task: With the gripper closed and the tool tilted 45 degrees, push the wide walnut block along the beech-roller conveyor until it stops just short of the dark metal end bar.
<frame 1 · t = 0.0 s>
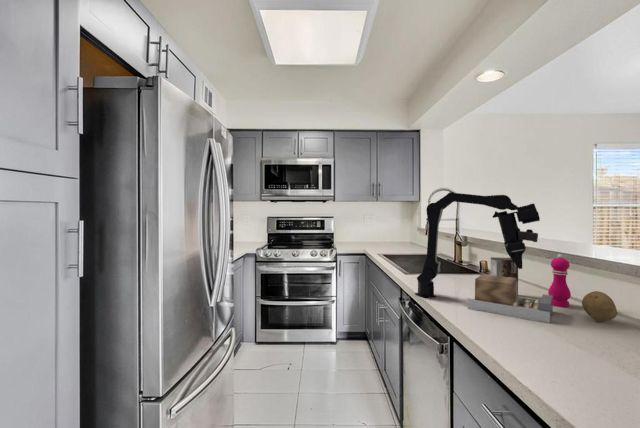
hand: (519, 266, 128), 15 cm above the worktop, tool pointing down, fingers open, 9 cm apart
potato: (597, 321, 113), on the worktop
slab: (495, 289, 127), point 7 cm above the worktop, slide at 0.0 cm
pepper mill: (559, 305, 132), on the worktop
coffee box: (503, 295, 145), on the worktop
track: (507, 309, 125), on the worktop
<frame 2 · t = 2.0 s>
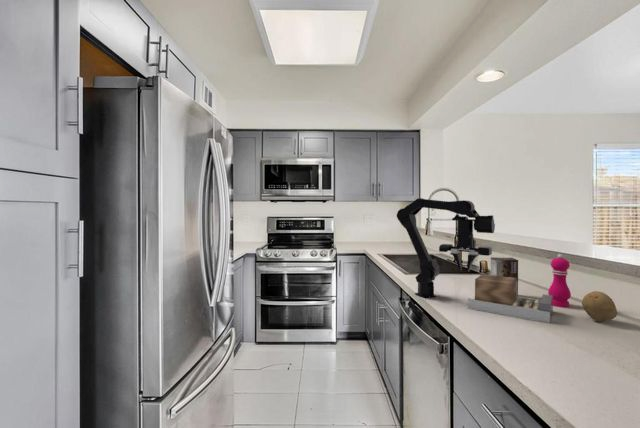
hand: (464, 270, 134), 13 cm above the worktop, tool pointing down, fingers open, 3 cm apart
nothing on the worktop moved.
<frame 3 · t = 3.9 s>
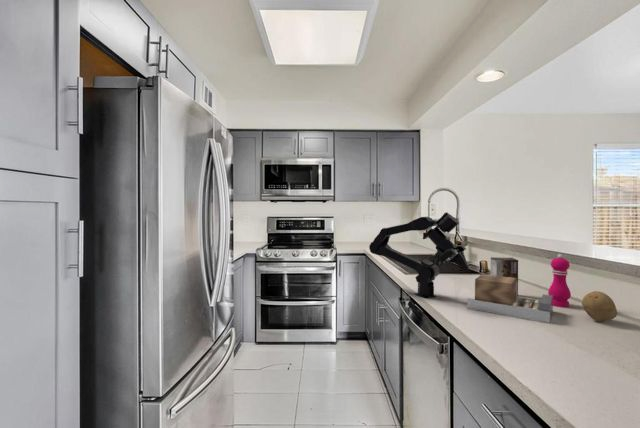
hand: (468, 270, 133), 13 cm above the worktop, tool tilted 45°, fingers closed
nothing on the worktop moved.
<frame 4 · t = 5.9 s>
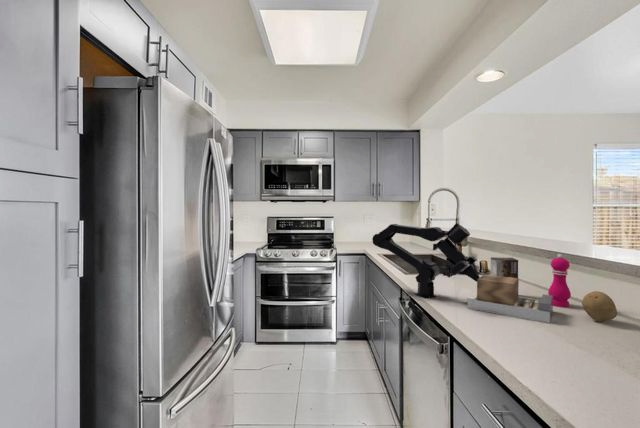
hand: (479, 282, 131), 9 cm above the worktop, tool tilted 45°, fingers closed, pressing on slab
slab: (497, 289, 127), point 7 cm above the worktop, slide at 0.7 cm, touching gripper
everything else where it was.
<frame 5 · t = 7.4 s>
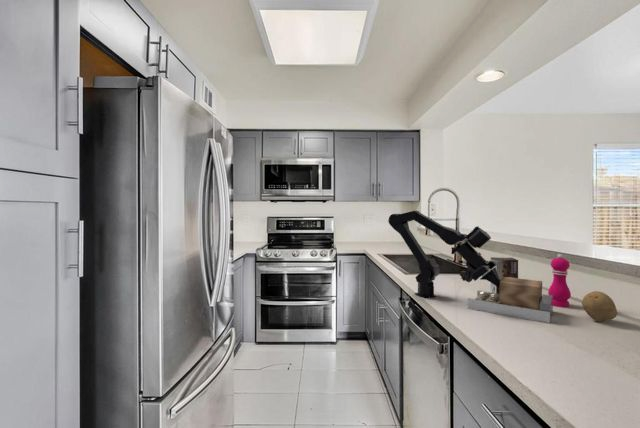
hand: (501, 287, 126), 8 cm above the worktop, tool tilted 45°, fingers closed, pressing on slab
slab: (521, 292, 122), point 7 cm above the worktop, slide at 8.3 cm, touching gripper
everything else where it was.
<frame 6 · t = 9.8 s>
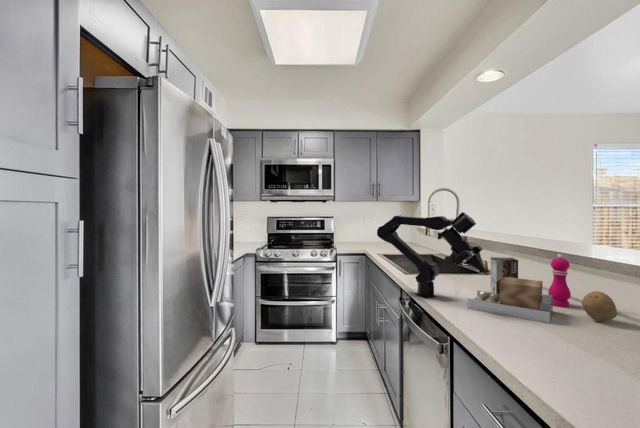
hand: (484, 272, 130), 13 cm above the worktop, tool tilted 45°, fingers closed
slab: (521, 292, 122), point 7 cm above the worktop, slide at 8.3 cm
everything else where it was.
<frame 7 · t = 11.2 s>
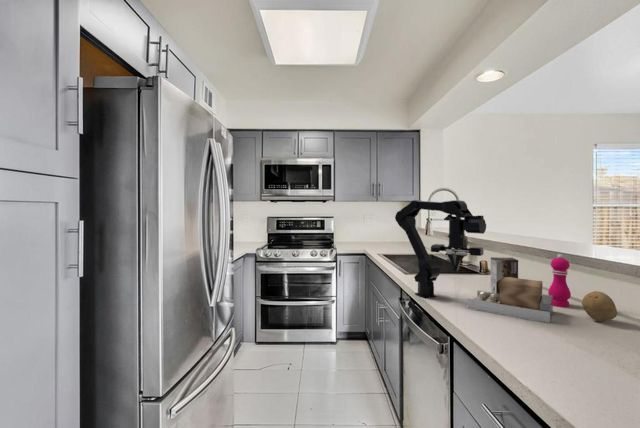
hand: (456, 271, 133), 12 cm above the worktop, tool pointing down, fingers closed
nothing on the worktop moved.
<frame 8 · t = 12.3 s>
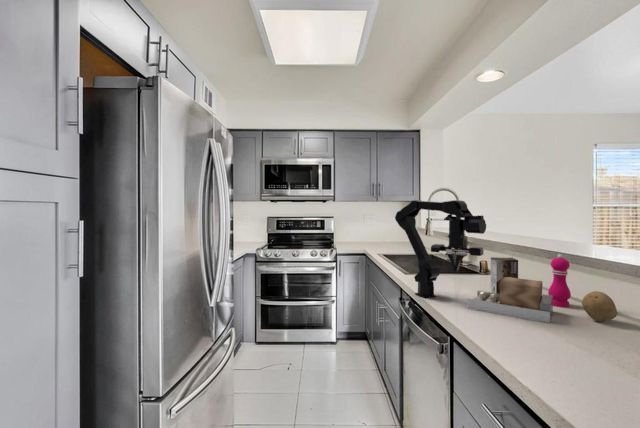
hand: (456, 271, 133), 12 cm above the worktop, tool pointing down, fingers closed
nothing on the worktop moved.
at the end: slab slide at 8.3 cm; the gripper is holding nothing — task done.
